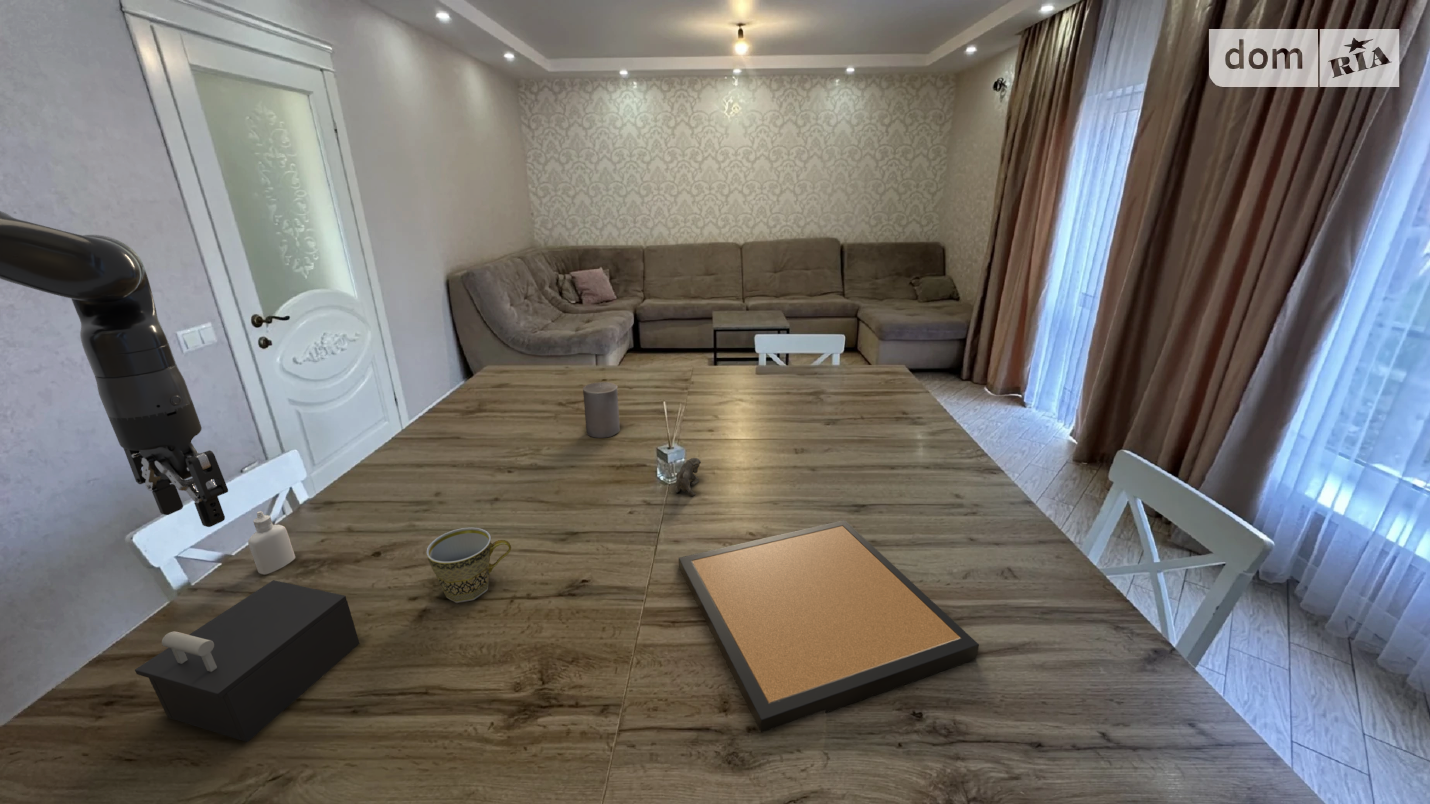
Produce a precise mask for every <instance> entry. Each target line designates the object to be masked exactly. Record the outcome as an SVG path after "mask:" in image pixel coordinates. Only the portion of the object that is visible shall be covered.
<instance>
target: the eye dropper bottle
mask: <svg viewBox="0 0 1430 804" xmlns="http://www.w3.org/2000/svg"><path fill="white" fill-rule="evenodd" d="M252 522H253V525H254V528H255V530H256V531H255V532H254V533H253V534H252V535H251V536H250V537H249V538H248V541H247V544H248V547H249V550H250V553H251V556H252V558H253V561H254V564H255V567H256V569H257V572H258V574H261V575H264V576H265V575H268V574H271V573H274V572H276V571H278V570H280V569H282V568H284V567H286V566H287V565H289V564H290V563H291V562H293V561H294V560H295V559H296V553H295V552H294V548H293V545H292V542H291V539H290V536H289V533H288V530H287V528H286V527H285V526H284V525H282V524H273V520H272V517H271V515H268V514H264V512H263V511H262V510H259V511H257V512H256V518H254V519H253V521H252Z"/></svg>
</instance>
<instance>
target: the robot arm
mask: <svg viewBox="0 0 1430 804" xmlns="http://www.w3.org/2000/svg"><path fill="white" fill-rule="evenodd" d="M0 280H2V281H5V282H9V283H12V284H16V285H20V286H22V287H26V288H30V289H33V290H35V291H39V292H43V293H47V294H51V295H54V296H59V297H61V298H62V297H63V298H67V299H71V301H72V304H73V307H74V309H75V312H76V315H77V316H78V319H79V322H80V331H79V333H80V334H79V335H80V343H81V346H82V348H83V352H84V354H85V356H86V359H87V361H88V363H89V367H90V369H91V371H92V373H93V376H94V379H95V382H96V386H97V391H98V395H99V398H100V401H101V404H102V406H103V408H104V410H105V413H106V415H107V417H108V420H109V422H110V424H111V425H110V426H111V427H112V429H113V431H114V434H115V437H116V439H117V442H118V444H119V446H120V447H121V448H123V451H124V454H125V457H126V458H127V462H128V464H129V466H130V467H129V468H130V469H131V472H132V475H133V477H134V480H135V482H136V483H137V484H138V485H143V484H144V486H145V489H146V490H148V491H149V492H151V493H152V496H153V498H154V500H155V503H156V505H157V508H158V511H159V513H160V514H161V515H164V516H170V515H172V514H174V513H177V512H179V511H181V510H182V509H183V508H184V504H183V502H182V498H181V495H180V493H179V491H184V492H186V493H187V495H188V496H189V497H190V498H191V500H192V501H193V502H194V503H193V504H194V507H195V509H196V511H197V514H198V517H199V519H200V522H201V525H202V526H203V527H206V528H211V527H214V526H216V525H218V524H220V523H222V522H224V521H225V519H226V516H225V513H224V510H223V507H222V504H221V501H220V499H219V496H221V495H224V494H225V495H226V493H228V492H229V488H228V485H227V483H226V481H225V478H224V475H223V473H222V470H221V467H220V465H219V463H218V459H217V458H216V455H215V453H214V452H213V451H212V450H206V451H204V452H199V451H197V449H196V447H195V446H194V444H193V443H192V440H193V439H195V437H196V436H198V435H199V434H200V433H201V432H202V424H201V421H200V418H199V416H198V413H197V410H196V408H195V404H194V402H193V399H192V396H191V393H190V391H189V387H188V385H187V382H186V379H185V378H184V376H183V374H182V372H181V371H180V369H179V367H178V365H177V363H176V360H175V359H176V358H175V357H174V354H173V352H172V347H171V345H170V343H169V339H168V338H167V335H166V333H165V331H164V329H163V327H162V325H161V323H160V320H159V317H158V312H157V308H156V304H155V300H154V296H153V295H154V294H153V292H152V288H151V284H150V281H149V277H148V274H147V271H146V268H145V265H144V263H143V261H142V259H141V257H140V256H139V255H138V253H137V252H136V251H135V250H134V249H133V248H131V247H130V246H129V245H128V244H126V243H125V242H123V241H122V240H121V241H120V240H118V239H116V238H113V237H110V236H106V235H101V234H78V233H74V232H69V231H66V230H62V229H58V228H53V227H50V226H46V225H41V224H38V223H34V222H30V221H26V220H22V219H18V218H15V217H13V216H11V215H10V214H9V213H6V212H4V211H1V210H0ZM178 490H179V491H178Z"/></svg>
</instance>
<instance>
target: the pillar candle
mask: <svg viewBox="0 0 1430 804" xmlns="http://www.w3.org/2000/svg"><path fill="white" fill-rule="evenodd" d="M582 394H583V406H584V419H585V420H584V421H585V430H586V431H585V432H586V434H587V436H589V437H592V438H596V439H597V438H599V439H602V438H611V437H613V436H615V435H616V434H618V433H620V431H621V428H620V408H619V396H618V395H619V394H618V385H617V384H615V383H613V382H608V381H599V382H597V381H596V382H592V383H588V384H586V385H585V386H583V387H582Z"/></svg>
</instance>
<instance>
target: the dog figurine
mask: <svg viewBox="0 0 1430 804" xmlns="http://www.w3.org/2000/svg"><path fill="white" fill-rule="evenodd" d="M701 463H702V461H701V460H700V458H698V457H691V458H688V459H687V460H686V461H685V462H684V463H683V464H682V465H681V467H680V469H679V471H678V472H677V473H676V475H675V478H676V480H675V485H676V487H675V493H676V494H678V493H679V492H680V491H682V492H686V491H687V493H688V494H689V495H690V496H691V497H694V496H696V493H695V492H694V491H693V490H692V488H691V487H693V486H695V485H697V484H698V483H699V482H700V479H699V477H698V476H696V474H697V473H698V472H699V471H698V470H699V467H700V464H701Z"/></svg>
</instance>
